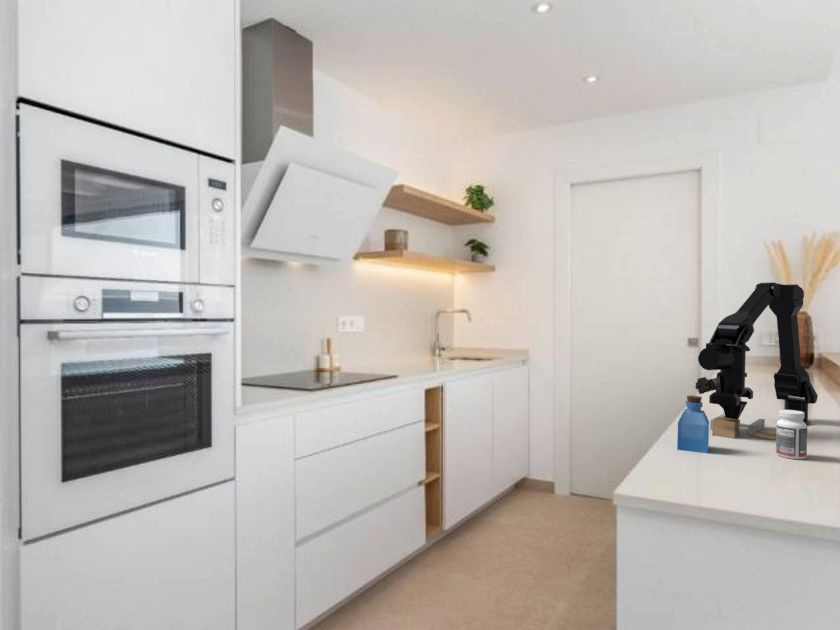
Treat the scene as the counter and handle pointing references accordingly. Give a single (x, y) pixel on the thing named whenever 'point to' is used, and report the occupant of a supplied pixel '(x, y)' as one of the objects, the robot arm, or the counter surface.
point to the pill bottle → (791, 435)
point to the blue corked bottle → (693, 427)
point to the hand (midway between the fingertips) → (731, 428)
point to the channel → (752, 427)
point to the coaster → (765, 434)
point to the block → (726, 427)
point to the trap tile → (744, 425)
